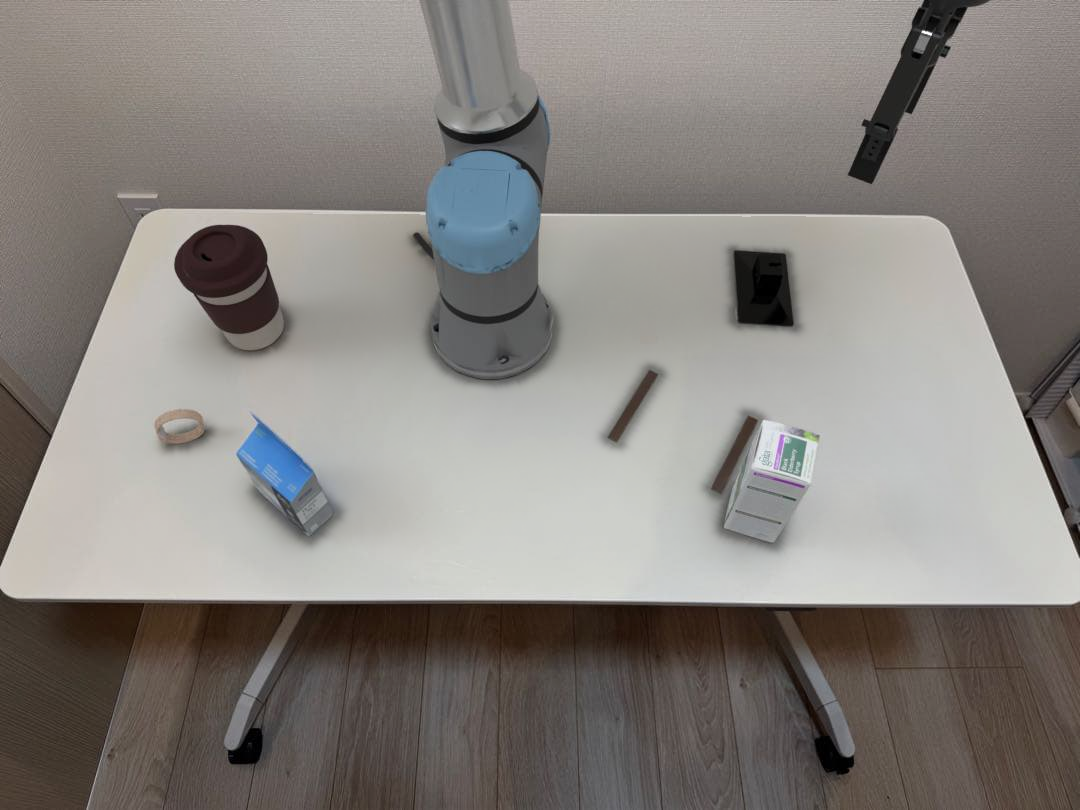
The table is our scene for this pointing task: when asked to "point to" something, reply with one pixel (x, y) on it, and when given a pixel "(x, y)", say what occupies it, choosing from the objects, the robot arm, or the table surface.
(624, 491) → the table surface
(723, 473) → the strips
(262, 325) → the coffee cup
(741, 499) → the syrup box
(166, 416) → the beige hollow ring
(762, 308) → the build plate
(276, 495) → the label tape box
